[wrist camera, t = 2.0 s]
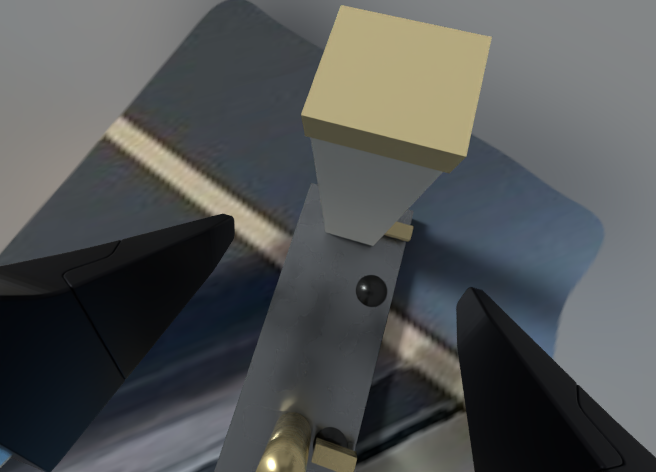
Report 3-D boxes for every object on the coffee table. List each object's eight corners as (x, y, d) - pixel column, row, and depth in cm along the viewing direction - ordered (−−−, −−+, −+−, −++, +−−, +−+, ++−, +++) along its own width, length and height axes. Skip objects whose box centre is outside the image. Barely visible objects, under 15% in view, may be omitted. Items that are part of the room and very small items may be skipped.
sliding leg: (403, 256, 18) (570, 182, 5) (324, 233, 18) (300, 115, 6) (413, 214, 18) (586, 57, 6) (336, 193, 19) (340, 5, 6)
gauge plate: (332, 516, 16) (331, 630, 11) (219, 472, 17) (165, 559, 12) (407, 216, 20) (434, 190, 15) (312, 190, 21) (305, 156, 15)
